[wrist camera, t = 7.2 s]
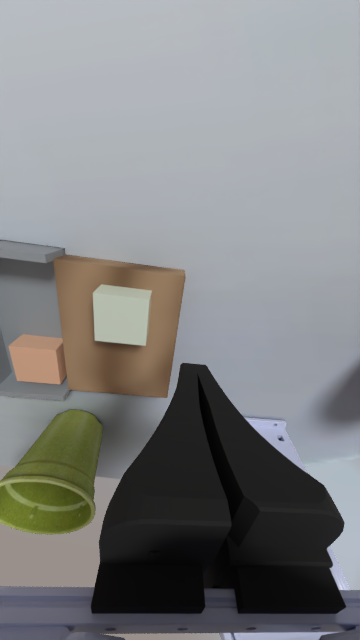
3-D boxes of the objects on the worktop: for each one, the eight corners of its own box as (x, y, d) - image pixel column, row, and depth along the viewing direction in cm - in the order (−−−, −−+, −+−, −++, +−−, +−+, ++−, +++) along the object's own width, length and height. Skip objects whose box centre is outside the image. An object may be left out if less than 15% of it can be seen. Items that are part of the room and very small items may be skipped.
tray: (64, 248, 18) (44, 254, 15) (76, 379, 24) (64, 400, 21) (-27, 236, 17) (-65, 240, 14) (9, 373, 23) (-12, 394, 21)
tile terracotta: (65, 338, 21) (55, 350, 19) (69, 371, 23) (60, 384, 21) (22, 334, 21) (8, 345, 19) (29, 367, 22) (17, 380, 21)
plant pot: (41, 390, 24) (-21, 472, 17) (124, 407, 26) (102, 491, 18) (37, 441, 28) (-15, 528, 20) (109, 454, 30) (86, 539, 22)
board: (184, 270, 19) (185, 276, 17) (167, 384, 24) (167, 397, 23) (65, 254, 18) (53, 259, 16) (76, 376, 24) (68, 389, 22)
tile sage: (152, 290, 17) (149, 299, 16) (148, 333, 19) (145, 345, 17) (101, 284, 17) (92, 292, 15) (102, 328, 19) (94, 340, 17)
